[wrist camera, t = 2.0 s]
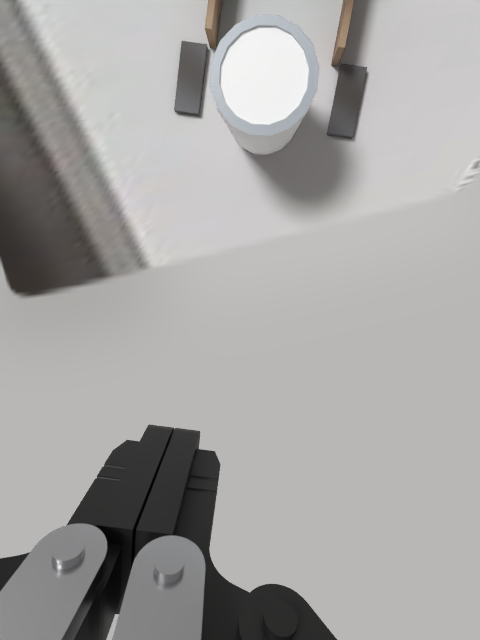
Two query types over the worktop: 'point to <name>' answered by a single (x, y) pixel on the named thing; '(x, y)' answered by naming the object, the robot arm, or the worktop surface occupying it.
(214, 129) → the worktop surface
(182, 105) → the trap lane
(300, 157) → the worktop surface
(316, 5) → the worktop surface
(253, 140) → the white cup
